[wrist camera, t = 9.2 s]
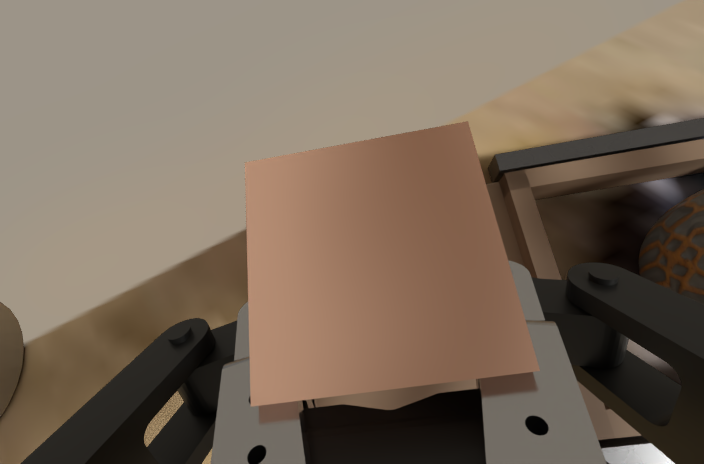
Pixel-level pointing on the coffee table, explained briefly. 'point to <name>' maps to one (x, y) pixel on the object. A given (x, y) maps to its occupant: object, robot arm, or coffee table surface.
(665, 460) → the lane rails
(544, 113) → the coffee table surface
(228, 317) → the coffee table surface
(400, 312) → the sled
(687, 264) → the vase
